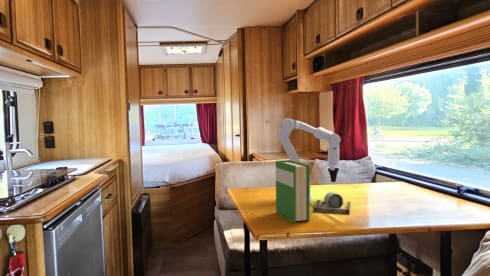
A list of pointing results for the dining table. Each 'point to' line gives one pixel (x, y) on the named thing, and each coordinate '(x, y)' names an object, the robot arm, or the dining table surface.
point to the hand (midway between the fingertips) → (333, 181)
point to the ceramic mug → (332, 200)
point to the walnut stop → (331, 209)
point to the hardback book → (293, 190)
